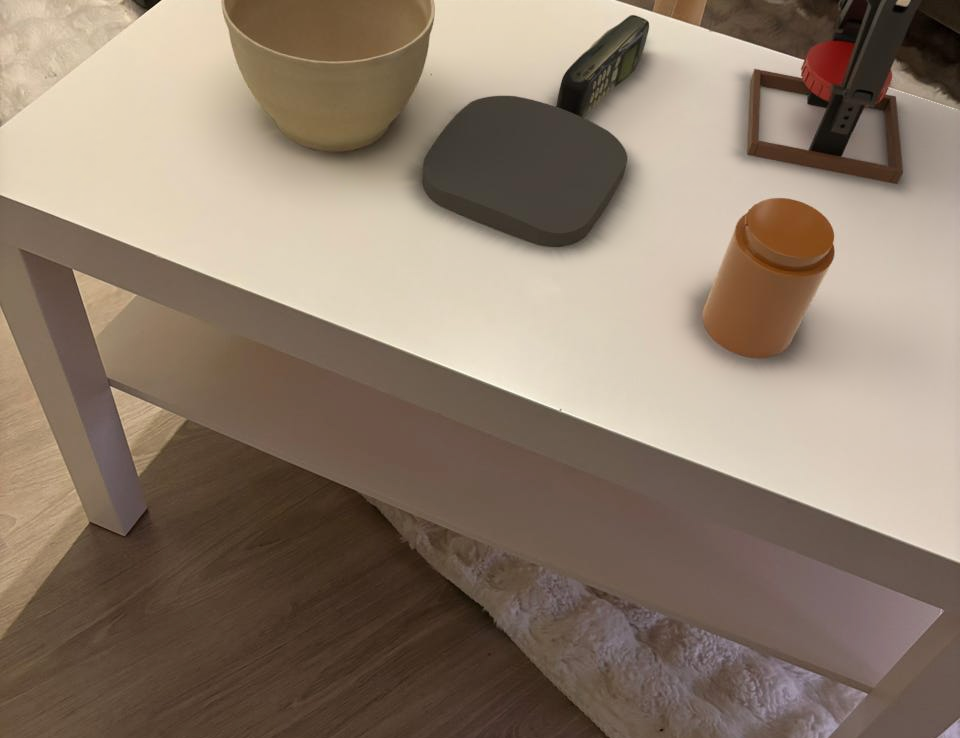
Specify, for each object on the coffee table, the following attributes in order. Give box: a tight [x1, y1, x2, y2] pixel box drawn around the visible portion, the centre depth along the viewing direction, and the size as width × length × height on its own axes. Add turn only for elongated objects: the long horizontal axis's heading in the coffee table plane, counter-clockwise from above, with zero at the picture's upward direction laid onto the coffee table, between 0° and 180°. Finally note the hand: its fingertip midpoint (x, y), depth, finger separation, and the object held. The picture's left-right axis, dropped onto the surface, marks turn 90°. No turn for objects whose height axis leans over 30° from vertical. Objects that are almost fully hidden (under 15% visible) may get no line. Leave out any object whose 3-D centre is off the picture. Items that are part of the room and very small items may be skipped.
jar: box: [701, 197, 836, 359], centre depth 74 cm, size 7×7×10 cm
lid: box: [800, 40, 893, 108], centre depth 87 cm, size 7×7×2 cm
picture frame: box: [746, 68, 904, 185], centre depth 91 cm, size 13×11×2 cm
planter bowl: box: [221, 0, 436, 153], centre depth 82 cm, size 16×16×11 cm
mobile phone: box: [555, 14, 650, 119], centre depth 91 cm, size 5×3×15 cm
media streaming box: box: [421, 95, 628, 248], centre depth 84 cm, size 15×15×3 cm
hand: (822, 129), depth 91 cm, fingers closed on lid, 7 cm apart
